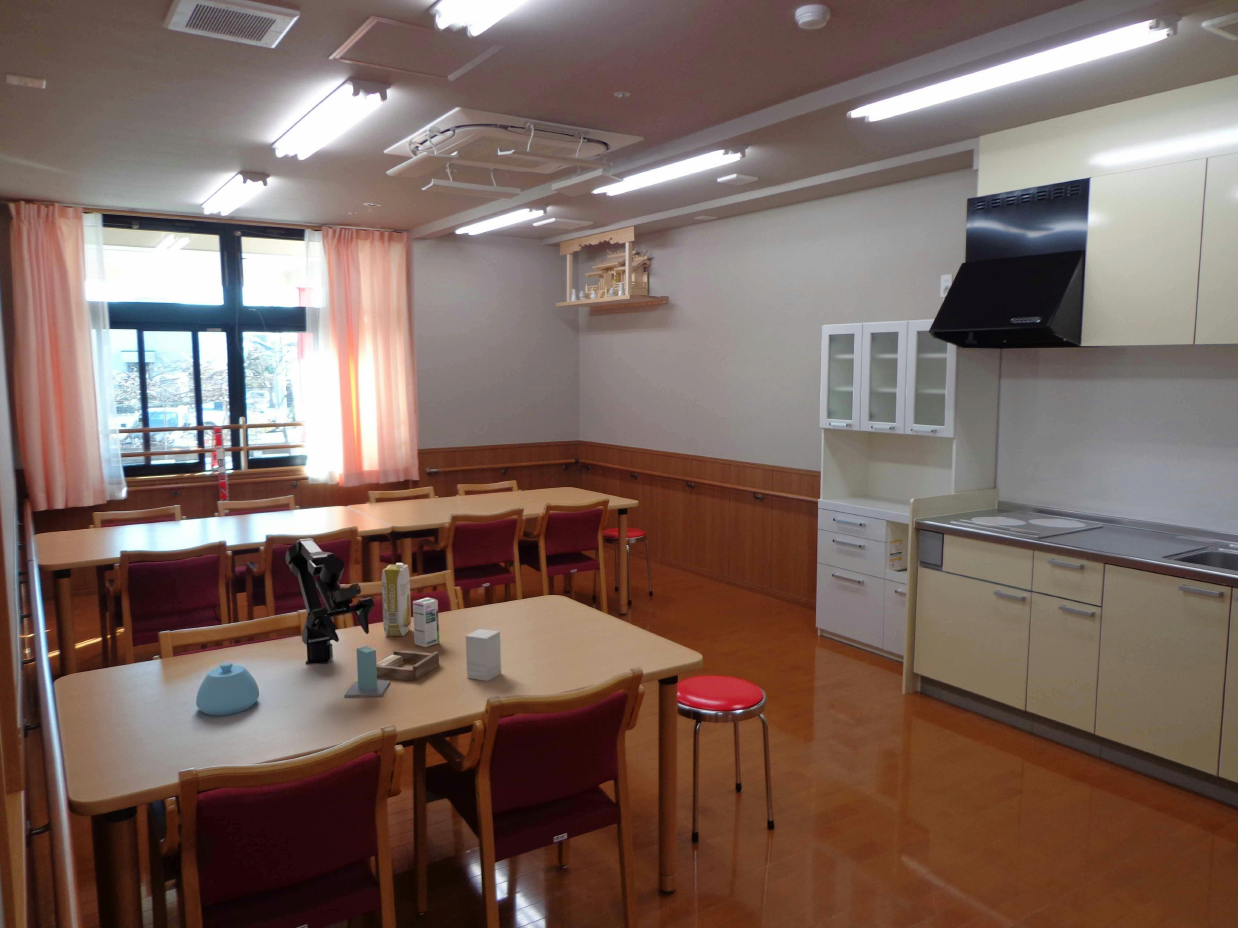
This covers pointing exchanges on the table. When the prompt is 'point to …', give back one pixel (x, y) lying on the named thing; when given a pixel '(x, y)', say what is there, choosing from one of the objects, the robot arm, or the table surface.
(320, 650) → the robot arm
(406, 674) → the walnut tray
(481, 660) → the supplement box
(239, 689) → the sugar bowl
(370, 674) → the teal board
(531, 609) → the table surface
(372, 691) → the grey mat
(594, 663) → the table surface
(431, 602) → the syrup box
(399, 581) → the juice carton
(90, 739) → the table surface
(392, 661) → the offcut stack
